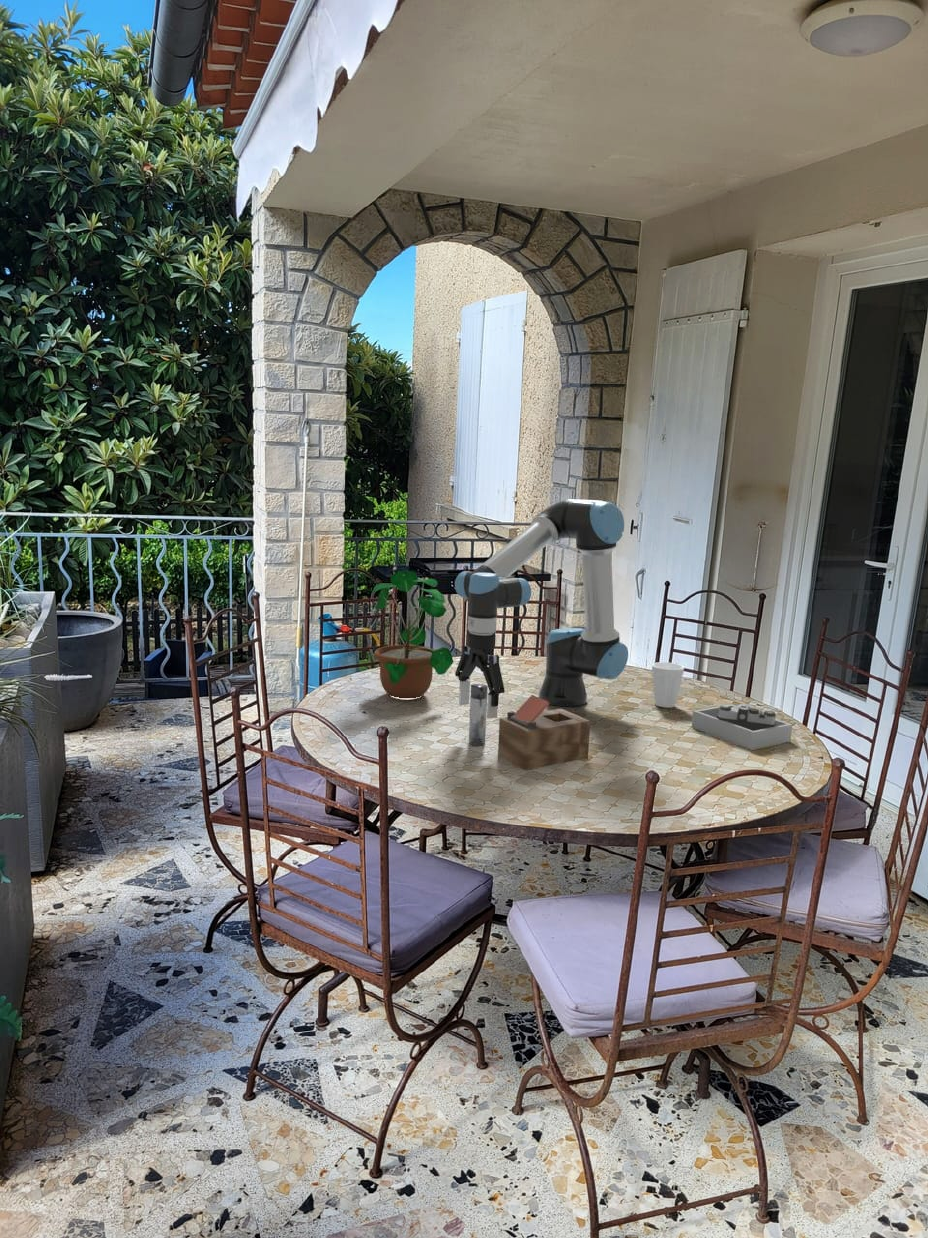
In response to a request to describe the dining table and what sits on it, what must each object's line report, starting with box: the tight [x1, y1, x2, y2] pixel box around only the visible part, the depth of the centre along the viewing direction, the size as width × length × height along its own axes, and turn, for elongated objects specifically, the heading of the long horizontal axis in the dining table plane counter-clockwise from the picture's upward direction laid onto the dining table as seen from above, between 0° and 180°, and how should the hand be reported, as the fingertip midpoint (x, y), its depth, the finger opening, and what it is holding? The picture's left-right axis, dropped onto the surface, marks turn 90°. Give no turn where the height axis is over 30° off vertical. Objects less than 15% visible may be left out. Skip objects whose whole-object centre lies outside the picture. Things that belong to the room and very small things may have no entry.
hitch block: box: [497, 708, 591, 771], centre depth 225 cm, size 20×12×12 cm, turn 122°
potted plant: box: [371, 570, 454, 698], centre depth 275 cm, size 31×29×40 cm
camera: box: [717, 703, 777, 731], centre depth 249 cm, size 16×10×10 cm, turn 70°
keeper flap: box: [510, 694, 551, 727], centre depth 221 cm, size 8×7×1 cm
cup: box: [651, 661, 685, 708], centre depth 276 cm, size 10×10×13 cm
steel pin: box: [468, 683, 489, 748], centre depth 233 cm, size 4×4×16 cm
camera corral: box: [691, 704, 793, 751], centre depth 251 cm, size 16×22×5 cm
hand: (477, 711), depth 233 cm, fingers open, 13 cm apart
